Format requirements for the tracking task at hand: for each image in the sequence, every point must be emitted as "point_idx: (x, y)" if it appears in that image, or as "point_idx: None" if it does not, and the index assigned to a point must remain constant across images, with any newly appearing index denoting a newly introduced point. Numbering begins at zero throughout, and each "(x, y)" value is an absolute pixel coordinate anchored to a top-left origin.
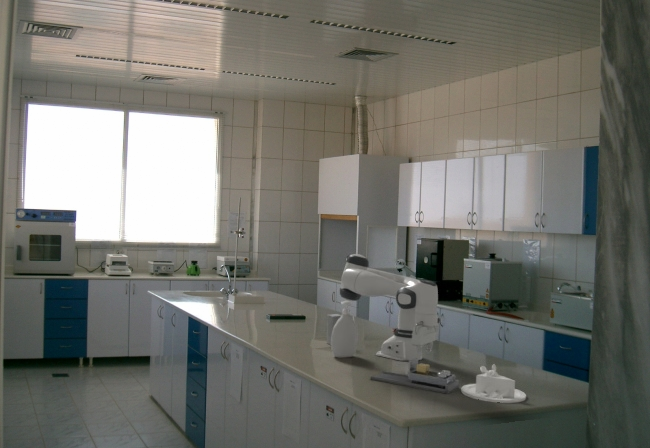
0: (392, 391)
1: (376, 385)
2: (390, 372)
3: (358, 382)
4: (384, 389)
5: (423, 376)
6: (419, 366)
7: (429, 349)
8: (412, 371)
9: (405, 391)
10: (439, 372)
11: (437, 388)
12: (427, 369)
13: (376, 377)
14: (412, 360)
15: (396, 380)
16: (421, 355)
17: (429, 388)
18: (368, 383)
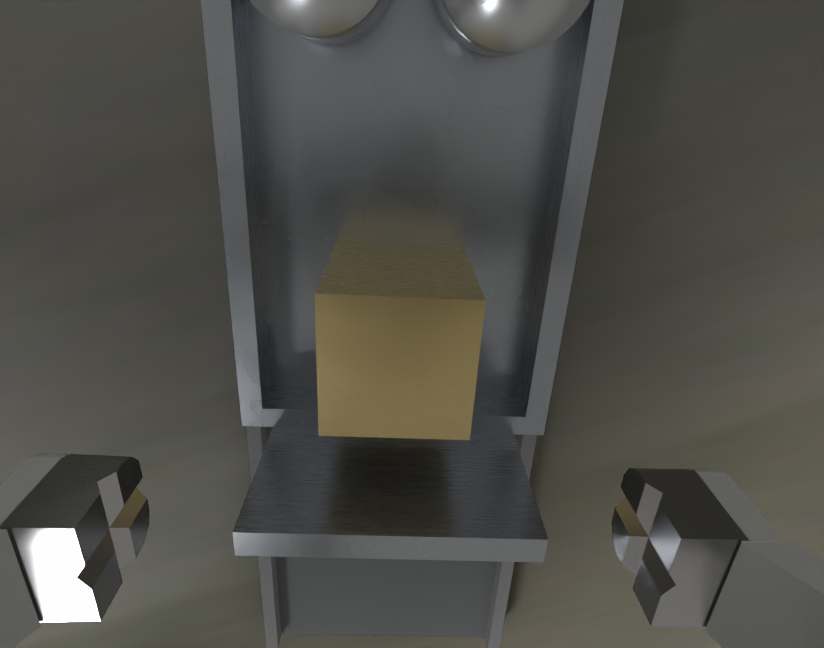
0: (793, 395)
1: None
2: (272, 599)
3: (631, 645)
4: (753, 462)
5: (571, 250)
6: (470, 392)
7: (100, 518)
8: None
9: (744, 309)
10: (508, 21)
11: None
12: (408, 275)
13: (504, 613)
14: (468, 539)
15: None
16: (714, 469)
17: None
18: (623, 597)
